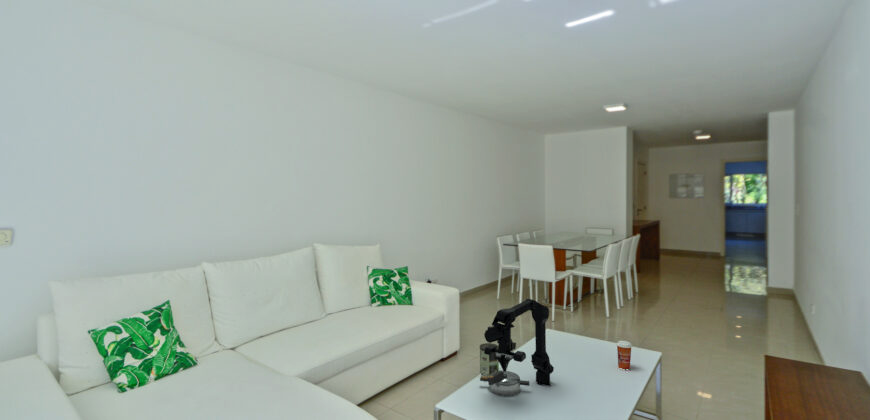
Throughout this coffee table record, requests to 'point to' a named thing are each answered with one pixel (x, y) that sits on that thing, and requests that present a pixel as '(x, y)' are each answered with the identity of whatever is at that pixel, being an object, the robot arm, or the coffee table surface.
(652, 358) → the coffee table surface
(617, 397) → the coffee table surface
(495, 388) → the pot
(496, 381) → the lid
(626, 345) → the paper cup
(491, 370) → the coffee can
